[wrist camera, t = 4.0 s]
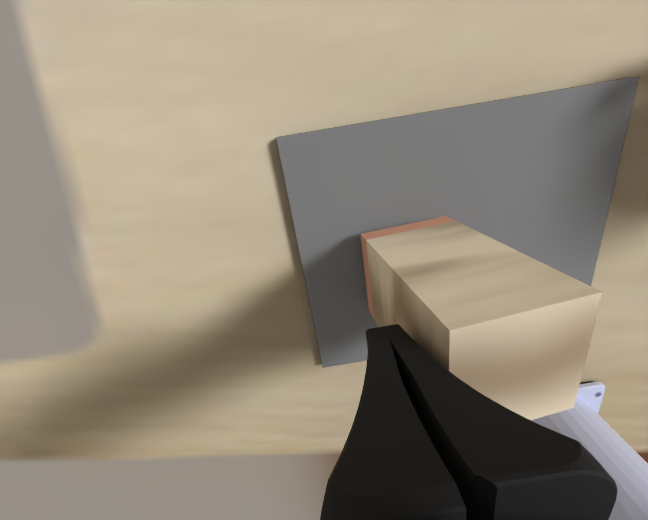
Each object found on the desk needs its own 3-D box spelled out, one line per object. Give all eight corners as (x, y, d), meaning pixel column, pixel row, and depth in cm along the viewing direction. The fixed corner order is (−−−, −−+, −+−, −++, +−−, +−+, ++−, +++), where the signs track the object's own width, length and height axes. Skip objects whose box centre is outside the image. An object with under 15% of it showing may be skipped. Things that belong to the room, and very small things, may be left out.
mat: (575, 321, 22) (581, 325, 22) (322, 362, 22) (322, 367, 22) (629, 77, 16) (638, 76, 15) (277, 137, 16) (276, 137, 16)
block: (444, 291, 20) (573, 407, 12) (368, 310, 19) (447, 444, 11) (445, 215, 18) (602, 291, 10) (360, 234, 17) (449, 330, 9)
